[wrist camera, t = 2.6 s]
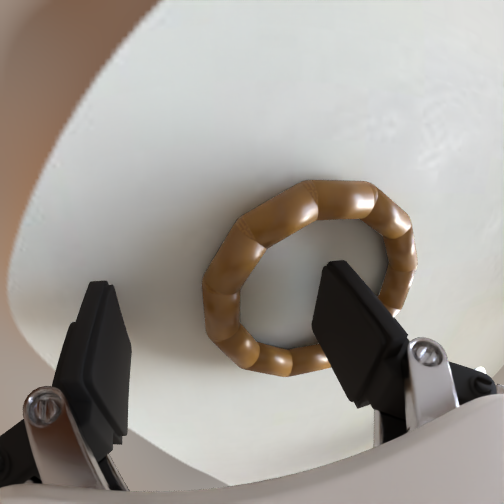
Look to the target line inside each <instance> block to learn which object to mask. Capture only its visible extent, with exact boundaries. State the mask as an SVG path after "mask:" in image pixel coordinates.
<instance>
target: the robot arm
mask: <svg viewBox="0 0 504 504" xmlns="http://www.w3.org/2000/svg"><path fill="white" fill-rule="evenodd" d="M312 330H313V333H314V335H315V337H316V339H317V341H318V342H319V344H320V346H321V348H322V350H323V352H324V354H325V356H326V358H327V359H328V361H329V363H330V365H331V367H332V369H333V371H334V373H335V375H336V376H337V378H338V380H339V382H340V384H341V386H342V388H343V390H344V392H345V394H346V396H347V397H348V399H349V400H350V401H351V402H353V401H354V403H355V405H356V407H357V409H358V408H361V407H364V406H367V405H369V404H371V406H372V408H373V409H374V444H373V448H372V449H369V450H367V451H364V452H362V453H359V454H356V455H354V456H351V457H348V458H345V459H342V460H339V461H336V462H333V463H330V464H327V465H324V466H320V467H317V468H314V469H310V470H306V471H303V472H299V473H295V474H291V475H287V476H283V477H278V478H274V479H269V480H264V481H259V482H253V483H247V484H241V485H235V486H227V487H220V488H211V489H200V490H188V491H164V492H137V491H130V490H129V489H128V487H127V486H126V484H125V482H124V480H123V478H122V477H121V475H120V473H119V471H118V470H117V468H116V466H115V464H114V462H113V460H112V458H111V457H110V455H109V453H110V452H111V451H112V450H113V444H122V436H126V435H127V427H128V397H129V379H130V365H131V353H132V350H131V343H130V340H129V337H128V334H127V331H126V327H125V324H124V321H123V317H122V314H121V311H120V307H119V303H118V300H117V296H116V292H115V289H114V286H113V285H109V284H108V282H107V281H93V282H90V283H89V285H88V288H87V291H86V293H85V296H84V299H83V302H82V305H81V308H80V311H79V313H78V316H77V320H76V322H72V323H71V324H70V326H69V328H68V331H67V334H66V338H65V341H64V344H63V347H62V351H61V354H60V357H59V361H58V364H57V368H56V372H55V376H54V380H53V384H52V386H44V387H39V388H37V389H36V390H33V391H32V392H31V393H30V394H29V395H28V397H27V398H26V400H25V402H24V405H23V417H24V419H23V420H21V421H20V422H19V423H17V424H16V425H15V426H13V427H12V428H11V429H9V430H8V431H7V432H5V433H4V434H2V435H1V436H0V504H504V386H502V385H500V384H497V385H495V383H494V381H493V380H492V379H491V377H489V376H488V375H487V374H485V373H483V372H480V371H477V370H474V369H471V368H468V367H465V366H461V365H458V364H455V363H452V362H449V361H448V358H447V354H446V352H445V350H444V349H443V347H442V346H441V345H440V344H439V343H437V342H436V341H434V340H432V339H429V338H425V337H418V338H415V339H413V340H412V341H409V340H408V339H407V336H408V334H407V333H406V331H405V330H404V329H403V328H402V327H401V325H400V324H399V323H398V322H397V320H396V319H395V318H394V317H393V316H392V314H391V313H390V312H389V311H388V309H387V308H386V307H385V306H384V305H383V303H382V302H381V301H380V300H379V299H378V298H377V296H376V295H375V294H374V293H373V292H372V291H371V289H370V288H369V287H368V286H367V285H366V284H365V282H364V281H363V280H362V279H361V278H360V277H359V275H358V274H357V273H356V272H355V271H354V270H353V269H352V268H351V266H350V265H349V264H348V263H347V262H346V261H345V260H339V261H330V262H328V264H327V266H324V267H323V270H322V275H321V280H320V285H319V291H318V296H317V301H316V306H315V310H314V315H313V320H312Z"/></svg>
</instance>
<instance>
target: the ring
mask: <svg viewBox="0 0 504 504" xmlns="http://www.w3.org/2000/svg"><path fill="white" fill-rule="evenodd" d="M338 219H360V220H361V221H363V222H364V223H366V224H367V225H368V226H370V227H371V228H373V229H374V230H375V231H377V232H378V233H380V234H381V235H382V236H383V240H384V244H385V248H386V252H387V256H388V260H389V264H388V267H387V271H386V274H385V278H384V281H383V284H382V287H381V290H380V294H379V295H378V297H377V298H378V299H379V300H380V301H381V302H382V303H383V305H384V306H385V307H386V308H387V309H388V311H389V312H390V313H391V314H392V316H393V317H395V316H396V315H397V314H398V312H399V311H400V310H401V309H402V307H403V305H404V302H405V299H406V297H407V294H408V291H409V289H410V286H411V283H412V280H413V277H414V274H415V272H416V269H417V265H418V260H417V253H416V247H415V241H414V235H413V229H412V223H411V220H410V217H409V216H408V214H407V213H406V212H405V211H403V210H402V209H401V208H400V207H399V206H398V205H397V204H396V203H394V202H393V201H392V200H391V199H390V198H389V197H388V196H386V195H385V194H384V193H383V192H382V191H381V190H379V189H378V188H377V187H376V186H375V185H373V184H372V183H369V182H365V181H338V180H305V181H302V182H300V183H298V184H296V185H294V186H292V187H291V188H289V189H287V190H285V191H284V192H282V193H280V194H278V195H277V196H275V197H273V198H271V199H270V200H268V201H266V202H265V203H263V204H261V205H259V206H258V207H256V208H254V209H253V210H251V211H249V212H247V213H246V214H244V215H242V216H241V217H240V218H238V219H237V221H236V222H235V224H234V225H233V227H232V229H231V230H230V232H229V234H228V235H227V237H226V238H225V240H224V242H223V243H222V245H221V247H220V248H219V250H218V252H217V253H216V255H215V257H214V258H213V260H212V262H211V263H210V265H209V267H208V268H207V270H206V272H205V274H204V276H203V279H202V292H203V305H204V318H205V329H206V333H207V335H208V337H209V338H210V339H211V340H212V341H213V342H214V343H215V344H216V345H217V346H218V347H219V348H220V349H221V350H222V351H223V352H224V353H225V354H226V355H227V356H228V357H229V358H230V359H231V360H232V361H233V362H234V363H235V364H236V365H237V366H239V367H240V368H242V369H245V370H250V371H255V372H260V373H265V374H270V375H276V376H281V377H289V376H294V375H299V374H304V373H309V372H313V371H318V370H322V369H327V368H330V367H331V365H330V363H329V361H328V359H327V358H326V356H325V354H324V352H323V350H322V348H321V346H320V344H314V345H309V346H304V347H298V348H293V349H287V350H286V349H282V348H278V347H274V346H271V345H267V344H263V343H259V342H256V341H255V339H254V338H253V337H252V336H251V335H250V334H249V332H248V331H247V330H246V329H245V328H244V327H243V325H242V324H241V323H240V322H239V321H240V289H241V287H242V286H243V284H244V283H245V281H246V280H247V278H248V277H249V275H250V274H251V272H252V271H253V269H254V268H255V266H256V265H257V263H258V262H259V260H260V259H261V257H262V256H263V254H264V253H265V251H266V250H267V248H269V247H271V246H273V245H274V244H276V243H278V242H279V241H281V240H283V239H285V238H286V237H288V236H290V235H291V234H293V233H295V232H297V231H298V230H300V229H302V228H303V227H305V226H307V225H309V224H310V223H312V222H314V221H315V220H338Z"/></svg>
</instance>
